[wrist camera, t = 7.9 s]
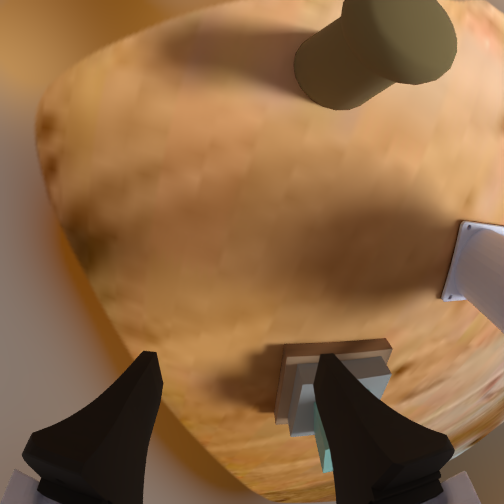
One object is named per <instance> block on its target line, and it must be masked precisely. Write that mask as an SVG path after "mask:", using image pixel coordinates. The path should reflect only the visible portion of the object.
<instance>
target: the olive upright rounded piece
mask: <svg viewBox="0 0 504 504" xmlns="http://www.w3.org/2000/svg"><path fill="white" fill-rule="evenodd" d="M456 53H457V37H456V33H455V30H454V26H453V24H452V22H451V20H450V18H449V16H448V15H447V13H446V11H445V10H444V9H443V8H442V6H441V5H440V4H439V3H438V1H437V0H345V1H344V2H343V7H342V14H341V17H340V18H338V19H337V20H335V21H334V22H332V23H331V24H329V25H328V26H326V27H325V28H323V29H322V30H321V31H319V32H318V33H316V34H315V35H314V36H312V37H311V38H309V39H308V40H307V41H305V42H304V43H303V44H302V45H301V46H300V48H299V49H298V51H297V52H296V55H295V60H294V71H295V77H296V79H297V81H298V83H299V85H300V87H301V89H302V90H303V91H304V92H305V93H306V94H307V95H308V97H309V98H310V99H311V100H313V101H315V102H316V103H318V104H320V105H321V106H323V107H327V108H330V109H333V110H350V109H352V108H355V107H358V106H360V105H362V104H363V103H365V102H366V101H368V100H369V99H371V98H372V97H374V96H375V95H377V94H378V93H380V92H381V91H383V90H385V89H386V88H388V87H389V86H391V85H392V84H394V83H403V84H412V85H418V84H423V83H427V82H431V81H435V80H437V79H438V78H440V77H441V76H442V75H443V74H444V73H446V72H447V71H448V70H449V69H450V68H451V66H452V63H453V61H454V58H455V55H456Z"/></svg>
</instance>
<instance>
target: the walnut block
mask: <svg viewBox="0 0 504 504" xmlns="http://www.w3.org/2000/svg"><path fill="white" fill-rule="evenodd" d="M391 352H392V347H391V345H390V344H389V342H388V341H387V339H386V338H383V339H372V340H360V341H346V342H329V343H305V344H284V350H283V357H282V364H281V371H280V378H279V385H278V391H277V398H276V404H275V410H274V415H275V423H276V425H278V424H288V413H289V408H290V403H291V398H292V393H293V387H294V382H295V376H296V370H297V365H298V364H306V363H318V362H319V358H320V354H328V353H334V354H335V355H336V356H337V358H338V359H339V360H340V361H345V360H355V359H364V358H372V357H380V356H382V358H383V360H384V361H385V363H386V365H387V362H388V360H389V357H390V354H391Z"/></svg>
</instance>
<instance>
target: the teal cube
mask: <svg viewBox="0 0 504 504" xmlns="http://www.w3.org/2000/svg"><path fill="white" fill-rule="evenodd" d="M368 390H369V391H370V389H368ZM314 434H315V438H316V443H317V447H318V452H319V456H320V461H321V466H322V470H323V473H326V472H330V471H333V467H332V461H331V455H330V449H329V445H328V441H327V438H326V435H325V431H324V428H323V425H322V422H321V418H320V415H319V412H318V409H317V405H316V402H314Z"/></svg>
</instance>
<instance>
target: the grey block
mask: <svg viewBox="0 0 504 504" xmlns="http://www.w3.org/2000/svg"><path fill="white" fill-rule="evenodd" d="M341 362H342V363H343V364H344V365H345V367H346V368H347V369H348V370H349V371H350V372H351V373H352V374H353V375H354V376H355V377H356V378H357V379H358V380H359V381H360V382H361V383H362V384H363V385H364V386H365V387H366V388H367V389H370V392H371V393H372V394H373V395H375V396H376V397H377V398H378V399H379V400H380V399H381V397H382V394H383V392H384V390H385V388H386V386H387V384H388V381H389V379H390V377H391V372H390V370H389V368H388V367H387V365H386V363H385V361H384V360H383V358H382V356H380V357H372V358H364V359H355V360H345V361H341ZM317 367H318V363H306V364H298V365H297V370H296V376H295V382H294V387H293V393H292V398H291V403H290V408H289V413H288V424H289V430H290V436H291V437H296V436H307V435H315V434H314V402H316V400H315V394H314V388H313V383H314V379H315V375H316V371H317Z"/></svg>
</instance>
